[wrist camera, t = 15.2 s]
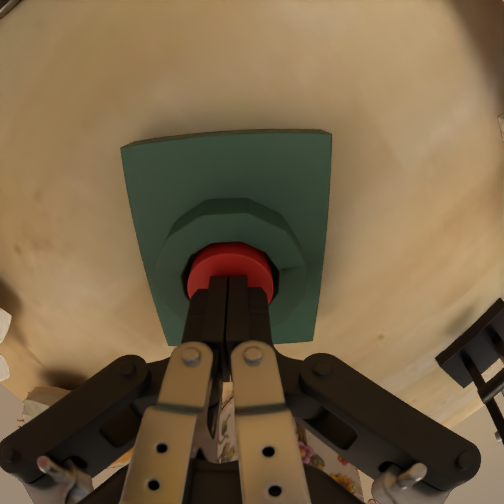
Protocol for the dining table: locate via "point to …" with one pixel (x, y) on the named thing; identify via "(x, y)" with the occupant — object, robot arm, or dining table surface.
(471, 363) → the bracket
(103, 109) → the dining table surface
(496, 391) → the lever
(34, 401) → the nautilus
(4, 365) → the lotus flower
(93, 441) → the robot arm
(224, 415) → the decorative jar
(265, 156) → the control block
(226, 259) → the button
